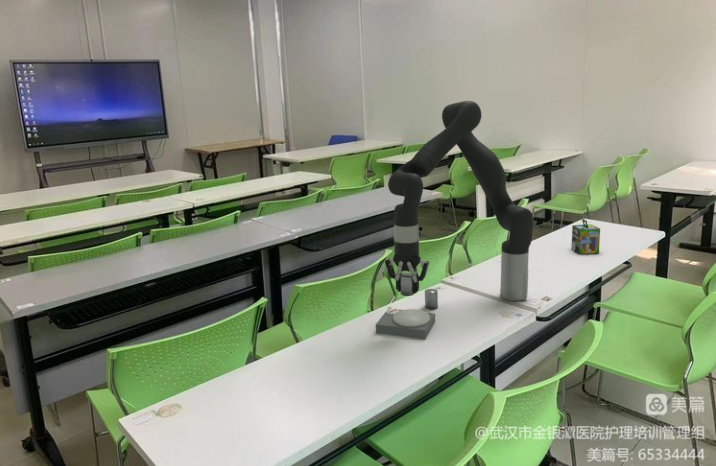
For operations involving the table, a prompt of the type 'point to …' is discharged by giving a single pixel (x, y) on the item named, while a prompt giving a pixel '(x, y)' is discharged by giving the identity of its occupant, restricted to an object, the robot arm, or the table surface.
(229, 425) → the table surface
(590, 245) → the colorful box with handle
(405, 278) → the cylinder
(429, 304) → the cylinder
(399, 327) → the scale
